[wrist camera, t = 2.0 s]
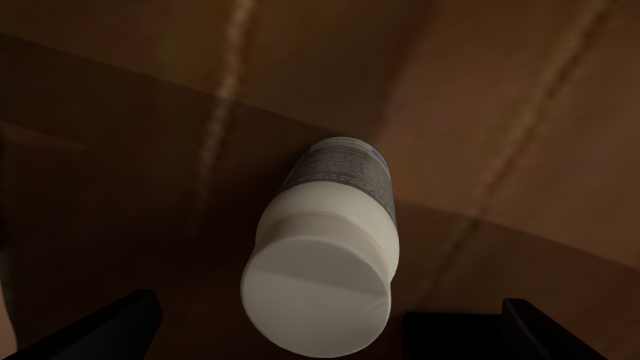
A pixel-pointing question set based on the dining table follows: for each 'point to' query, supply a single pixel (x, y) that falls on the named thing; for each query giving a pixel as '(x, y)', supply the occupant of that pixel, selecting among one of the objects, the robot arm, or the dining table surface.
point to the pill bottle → (325, 253)
